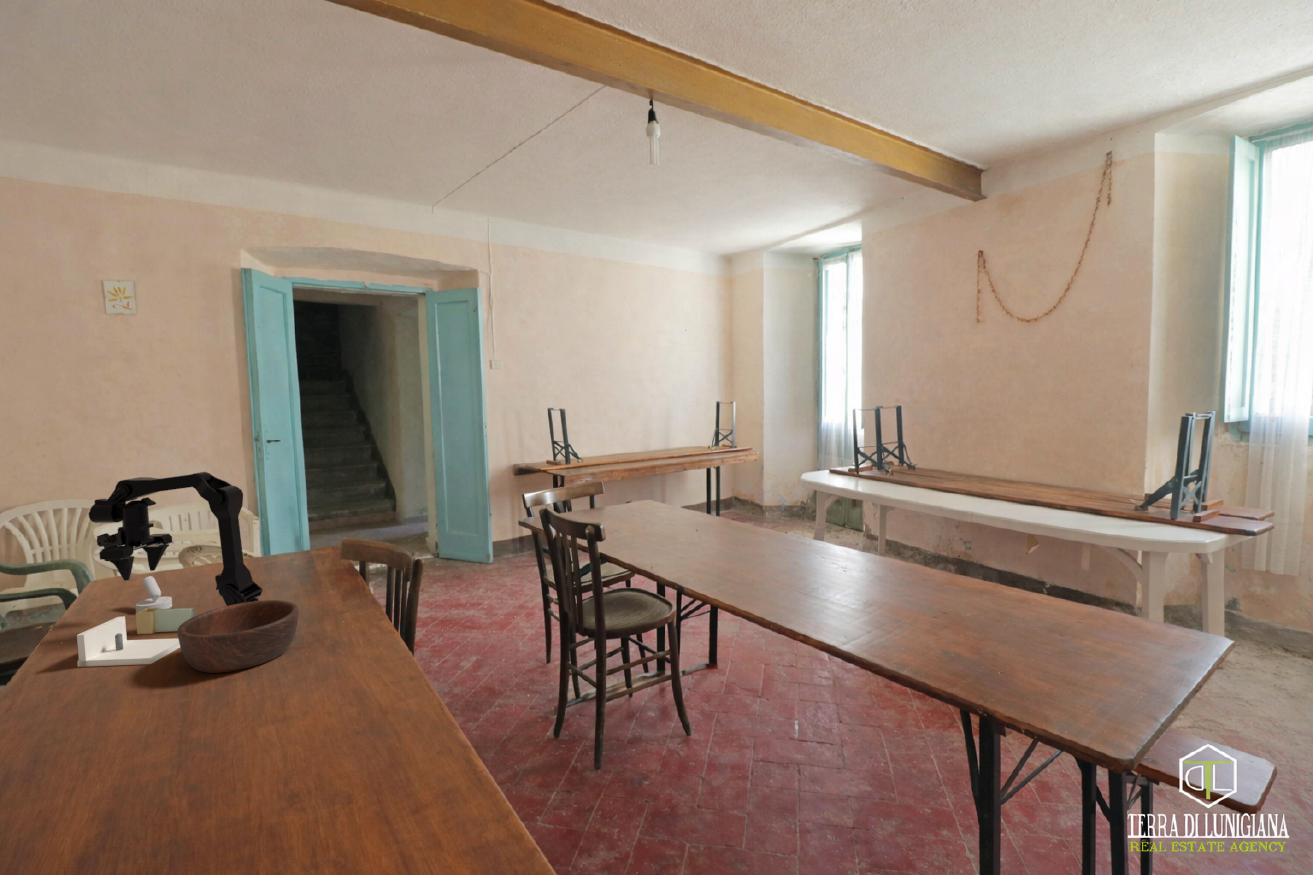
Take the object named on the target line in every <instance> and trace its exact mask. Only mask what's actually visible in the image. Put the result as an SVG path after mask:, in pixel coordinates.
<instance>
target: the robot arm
mask: <svg viewBox="0 0 1313 875" xmlns="http://www.w3.org/2000/svg"><path fill="white" fill-rule="evenodd" d="M187 488H193V489H195V490H196V492H197V493H198V495H199V496H200V497H201V498H202V499H203V500H205V501H207V504H208V506H209V509H210V512H211V513H212V514H213V516H214V517H215V518H216V520H217V524H218V525H217V526H218V533H219V542H220V550H221V559H222V567H223V568H222V571H221V573H219V574H217V575H215V578H214V580H215V583H216V587H215V590H216V591H217V590H218V594H219V596H221V597H222V599H223V601H224V603H225V606H230V605H234V604H240V603H246V602H253V601H259V598H258V597H261V596H262V592H263V591H264V590H263V588H262V587H261V586H259V584H257V583H256V582H255V581H254V579H253V576H252V574H251V571H250V569H249V568H248V567H247V566H246V565H245V562H244V557H243V556H244V554H243V547H242V544H243V543H242V538H241V530H240V529H241V526H240V519H239V516H240V513H241V510H242V508H243V504H244V493H243V491H242V489H241V488H239V487H238V486H235V485H232V484H231V483H229V482H228V481H226V480H223V479H221V478H218V477H216V476H214V475H212V474H211V473H209V472H206V471H200V472H195V473H192V474H191V473H190V474H184V475H177V476H169V477H162V478H158V477H157V478H155V477H150V476H149V477H148V476H147V477H145V476H143V477H141V476H140V477H133V478H128V479H121V480H119V481H117V483H116V485H115V488H114V489H113V491H112V493H111V494H110V495H109V497H108V498H98V499H95V500H94V504H93V505H92V506H91V507H90V509H89V511H88V518H89V520H90V521H91V522H92V523H94V524H108V523H111V524H112V523H120V522H122V526H118V528H117V532H116V533H114V534H109V533H107V532H105V533H102V534H100V535H97V536H96V543H97V544H96V545H97V546H98V547H103V548H102V549H101V550H100V551H99V553H98V554H99V555H98V556H99V560H104V561H105V562H110V564H113V565H114V567H116V569H117V571H118V572H119V574H120V576H121V578H122V579H123V581H126V582H127V581H130V578H131V574H132V570H133V569H132V568H133V564H134V560H135V556H133V554H134V551H136V550H139V549H143V551H145V553H146V556H147V557H146V558H147V563H148V568H149V570H150V571H151V572H152V571H155V570H156V569H157V567H158V565H159V563H160V561H161V559H162V557H163V555H164V553H165V551H166V550H167V549H168V547H170V544H171V543H173V536H172V535H171V534H170V533H153V534H151V531H150V529H151V528H154V523H153V522H152V523H150V518H149V516H150V515H149V514H150V513H149V507H152V506H155V505H156V504H157V502H155V500H152V499H151V498H150V497H147V496H150V495H154V494H156V493H159V492H165V491H173V490H180V489H181V490H182V489H187ZM139 498H141V499H139ZM137 499H138V500H137Z"/></svg>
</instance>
